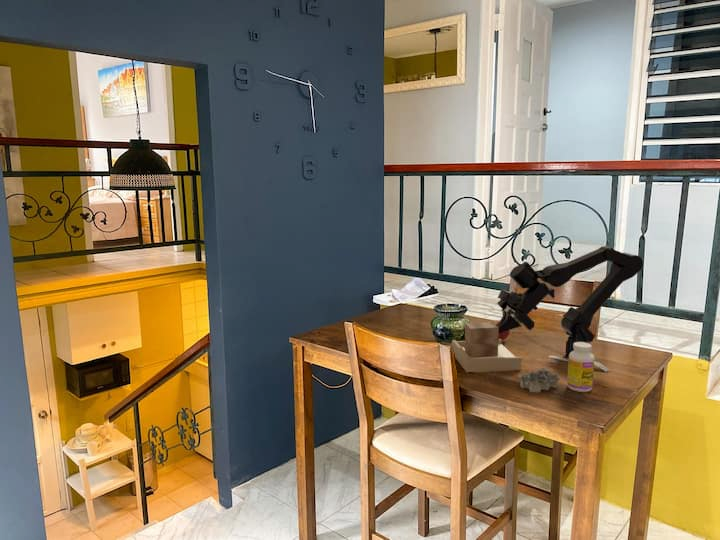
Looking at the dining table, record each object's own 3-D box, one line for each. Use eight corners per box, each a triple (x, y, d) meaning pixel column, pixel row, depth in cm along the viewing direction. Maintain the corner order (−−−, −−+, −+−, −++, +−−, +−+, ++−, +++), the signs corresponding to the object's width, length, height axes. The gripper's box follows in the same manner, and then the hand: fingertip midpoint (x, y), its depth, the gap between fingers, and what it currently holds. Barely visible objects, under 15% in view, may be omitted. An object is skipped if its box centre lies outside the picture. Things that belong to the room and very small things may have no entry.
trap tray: (500, 350, 186) (500, 337, 185) (521, 370, 168) (521, 355, 167) (451, 352, 184) (451, 339, 183) (467, 372, 166) (467, 358, 165)
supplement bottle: (580, 394, 149) (583, 349, 146) (561, 386, 155) (564, 343, 152) (597, 389, 152) (600, 345, 150) (578, 381, 158) (581, 339, 155)
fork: (549, 362, 181) (548, 354, 180) (613, 372, 165) (612, 363, 165) (545, 365, 179) (544, 356, 179) (609, 374, 164) (609, 365, 163)
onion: (511, 343, 193) (512, 321, 191) (494, 343, 193) (495, 321, 191) (507, 338, 198) (507, 317, 197) (491, 338, 198) (491, 317, 197)
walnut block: (491, 350, 179) (492, 322, 177) (497, 356, 173) (498, 327, 171) (464, 351, 178) (465, 323, 176) (470, 357, 172) (470, 328, 170)
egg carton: (533, 395, 150) (534, 381, 149) (515, 385, 157) (515, 372, 156) (562, 387, 154) (563, 374, 154) (543, 378, 161) (544, 365, 160)
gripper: (504, 275, 181) (470, 308, 182) (526, 287, 163) (489, 324, 164) (526, 297, 183) (492, 330, 184) (550, 312, 165) (513, 348, 166)
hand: (496, 332), depth 174 cm, fingers closed
